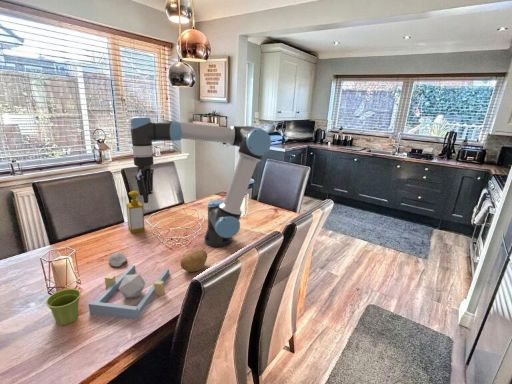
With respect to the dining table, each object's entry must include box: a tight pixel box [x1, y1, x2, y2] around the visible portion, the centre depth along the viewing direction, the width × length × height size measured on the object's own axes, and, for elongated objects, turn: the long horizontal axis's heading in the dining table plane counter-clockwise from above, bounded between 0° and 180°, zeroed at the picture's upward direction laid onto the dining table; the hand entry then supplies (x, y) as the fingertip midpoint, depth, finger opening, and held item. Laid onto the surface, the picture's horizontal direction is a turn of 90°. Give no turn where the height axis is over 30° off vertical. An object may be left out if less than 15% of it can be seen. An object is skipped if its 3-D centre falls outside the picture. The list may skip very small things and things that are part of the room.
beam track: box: [88, 264, 170, 320], centre depth 108 cm, size 23×28×5 cm
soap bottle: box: [126, 190, 146, 235], centre depth 159 cm, size 7×13×24 cm, turn 125°
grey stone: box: [108, 251, 128, 267], centre depth 127 cm, size 9×8×5 cm
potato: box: [180, 249, 208, 273], centre depth 125 cm, size 10×14×8 cm
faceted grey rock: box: [118, 273, 146, 299], centre depth 106 cm, size 8×9×10 cm
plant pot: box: [45, 288, 82, 326], centre depth 92 cm, size 9×9×9 cm
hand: (147, 208), depth 122 cm, fingers closed
